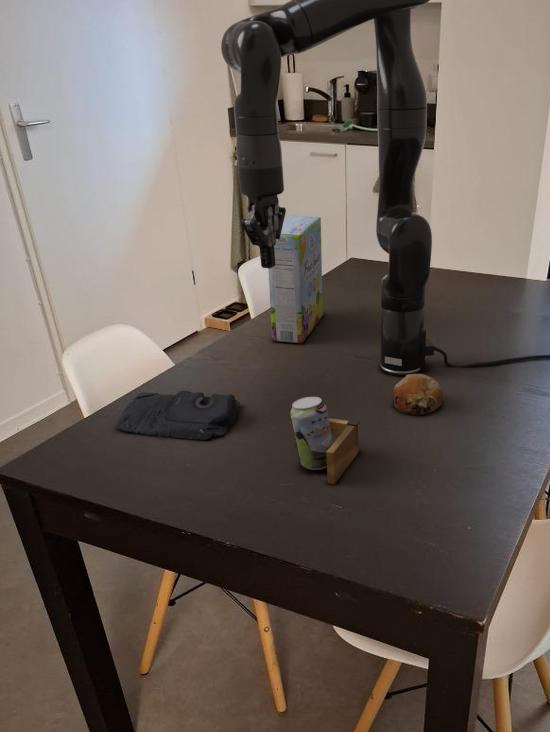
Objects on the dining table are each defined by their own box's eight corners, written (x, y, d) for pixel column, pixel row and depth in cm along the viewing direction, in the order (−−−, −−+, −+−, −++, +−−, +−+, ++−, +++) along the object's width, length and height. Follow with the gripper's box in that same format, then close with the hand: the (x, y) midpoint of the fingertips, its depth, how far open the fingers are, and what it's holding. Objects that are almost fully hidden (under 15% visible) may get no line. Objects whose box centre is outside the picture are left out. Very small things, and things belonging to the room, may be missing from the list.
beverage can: (328, 477, 116) (325, 412, 109) (288, 470, 118) (283, 406, 111) (341, 459, 121) (339, 396, 114) (302, 452, 123) (298, 390, 116)
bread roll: (444, 417, 141) (449, 378, 140) (433, 417, 132) (440, 375, 131) (397, 410, 144) (403, 372, 143) (384, 410, 134) (390, 369, 133)
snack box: (306, 345, 167) (300, 234, 153) (271, 343, 168) (262, 233, 154) (325, 315, 185) (321, 214, 171) (294, 314, 186) (287, 213, 172)
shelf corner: (273, 472, 117) (270, 440, 114) (301, 441, 126) (299, 410, 123) (336, 484, 113) (334, 451, 110) (360, 452, 123) (360, 420, 119)
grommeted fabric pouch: (145, 398, 142) (141, 376, 140) (247, 406, 139) (244, 384, 136) (108, 432, 130) (103, 409, 127) (219, 442, 126) (216, 419, 124)
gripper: (261, 170, 110) (270, 278, 120) (296, 159, 121) (302, 259, 130) (220, 168, 113) (232, 275, 122) (258, 157, 123) (266, 256, 132)
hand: (268, 267), depth 126 cm, fingers closed
